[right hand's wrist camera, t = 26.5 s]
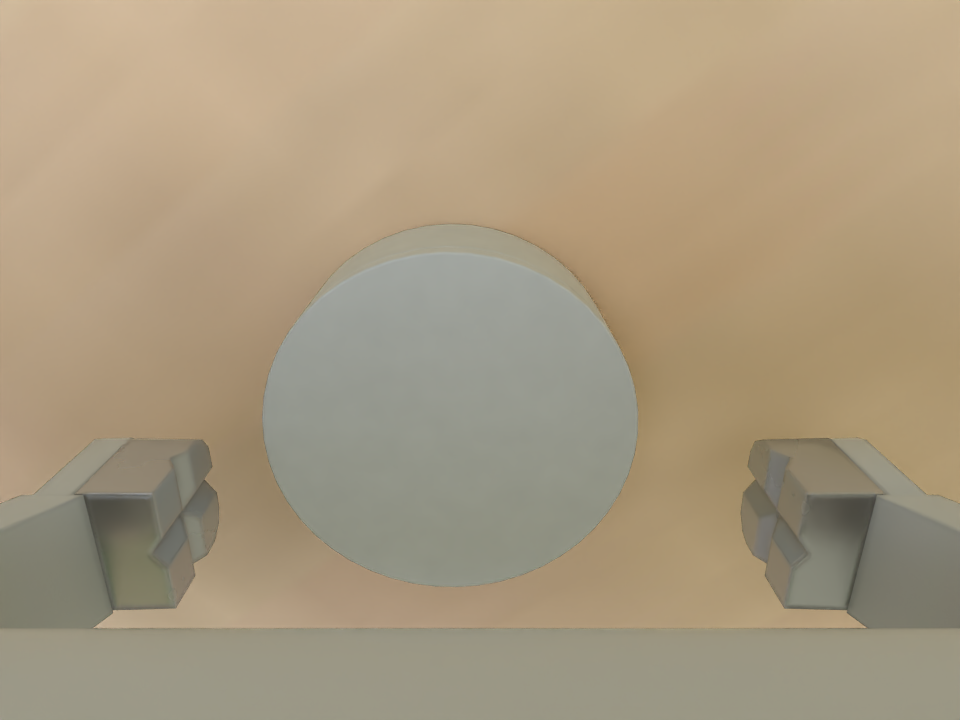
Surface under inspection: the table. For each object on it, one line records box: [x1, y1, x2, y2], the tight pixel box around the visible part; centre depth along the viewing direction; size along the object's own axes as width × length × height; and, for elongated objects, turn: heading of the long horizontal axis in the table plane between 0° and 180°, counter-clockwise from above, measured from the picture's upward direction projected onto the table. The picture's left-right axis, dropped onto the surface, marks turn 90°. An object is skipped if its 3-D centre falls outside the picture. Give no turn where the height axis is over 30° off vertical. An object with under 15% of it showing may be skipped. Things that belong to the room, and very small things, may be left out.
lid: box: [262, 224, 638, 587], centre depth 12 cm, size 6×6×2 cm
